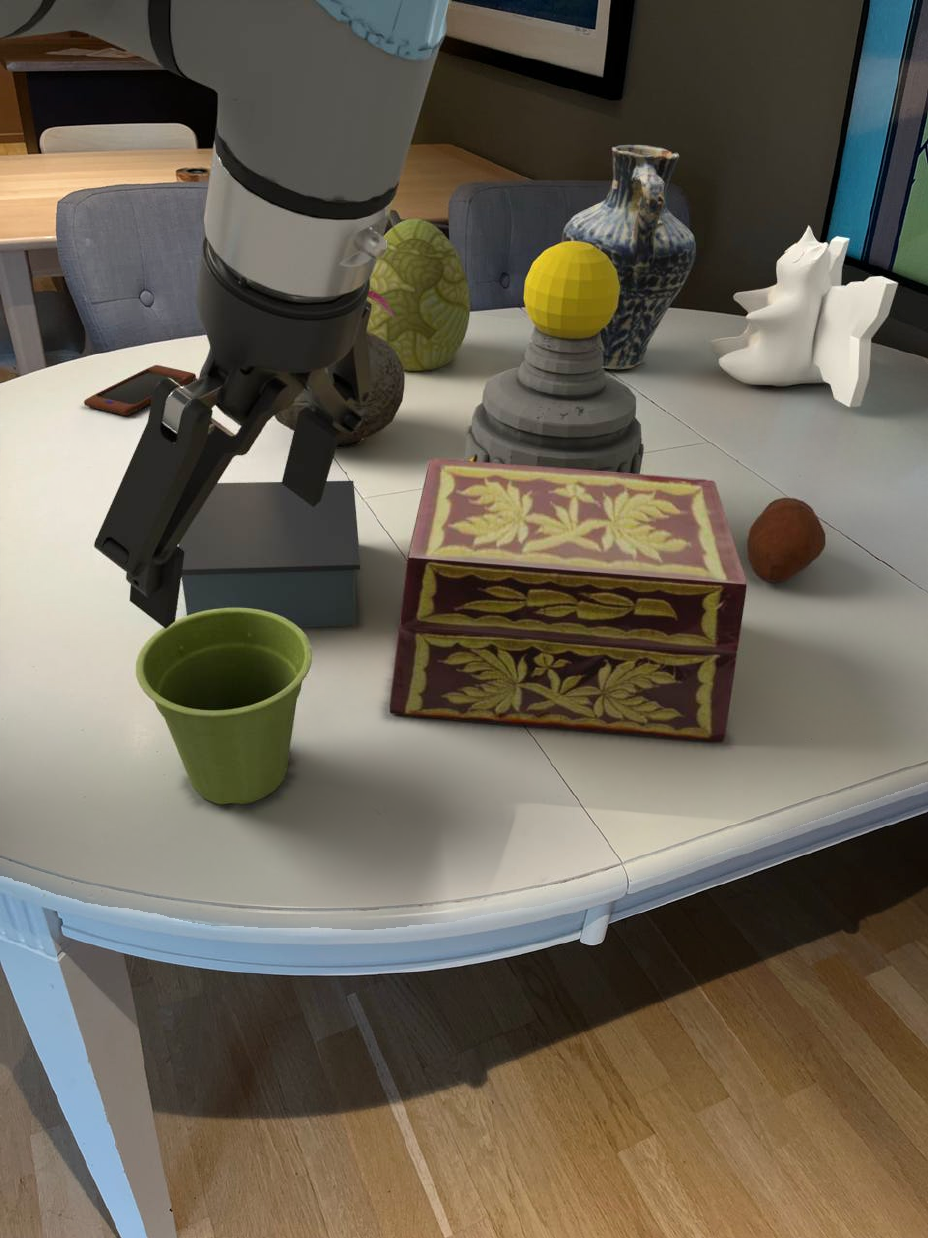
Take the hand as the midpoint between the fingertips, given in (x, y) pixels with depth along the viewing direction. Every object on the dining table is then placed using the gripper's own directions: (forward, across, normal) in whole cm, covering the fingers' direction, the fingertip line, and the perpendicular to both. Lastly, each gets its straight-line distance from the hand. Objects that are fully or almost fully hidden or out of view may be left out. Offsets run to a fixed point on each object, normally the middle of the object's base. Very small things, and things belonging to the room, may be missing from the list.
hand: (231, 547), depth 59 cm
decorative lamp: (+26, +45, -10) cm, 53 cm away
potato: (+17, +51, -33) cm, 63 cm away
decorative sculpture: (+45, +78, +25) cm, 93 cm away
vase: (+38, +50, +19) cm, 66 cm away
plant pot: (+20, -2, -6) cm, 21 cm away
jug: (+38, +96, +1) cm, 104 cm away
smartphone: (+49, +45, +46) cm, 81 cm away
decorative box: (+18, +24, -20) cm, 36 cm away
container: (+28, +19, +6) cm, 35 cm away
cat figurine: (+30, +105, -22) cm, 111 cm away
